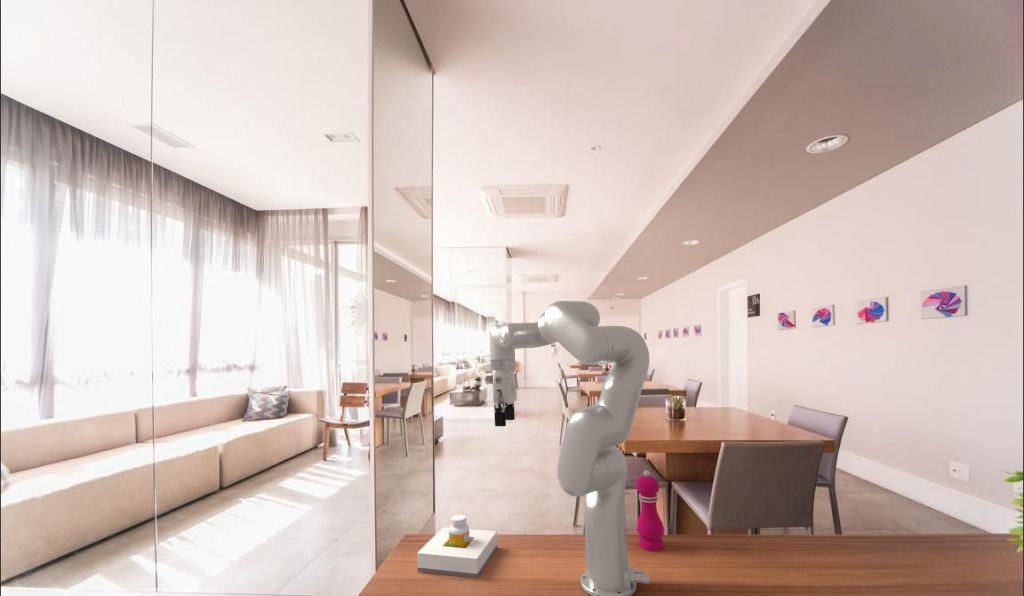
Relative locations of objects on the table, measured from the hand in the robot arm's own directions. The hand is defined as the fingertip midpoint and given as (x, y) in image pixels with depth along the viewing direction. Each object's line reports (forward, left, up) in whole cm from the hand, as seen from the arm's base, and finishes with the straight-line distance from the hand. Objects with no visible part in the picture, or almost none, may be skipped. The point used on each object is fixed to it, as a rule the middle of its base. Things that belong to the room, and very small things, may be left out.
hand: (505, 422), depth 137 cm
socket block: (+9, +17, -32) cm, 38 cm away
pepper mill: (-40, 0, -32) cm, 52 cm away
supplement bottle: (+9, +17, -32) cm, 37 cm away
